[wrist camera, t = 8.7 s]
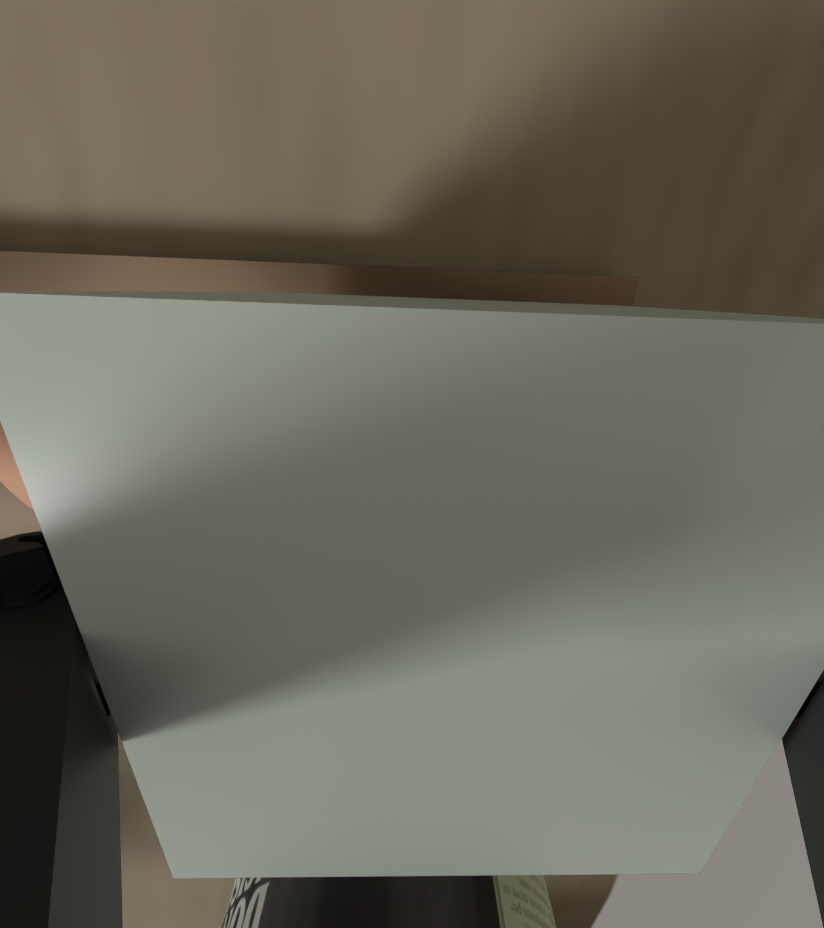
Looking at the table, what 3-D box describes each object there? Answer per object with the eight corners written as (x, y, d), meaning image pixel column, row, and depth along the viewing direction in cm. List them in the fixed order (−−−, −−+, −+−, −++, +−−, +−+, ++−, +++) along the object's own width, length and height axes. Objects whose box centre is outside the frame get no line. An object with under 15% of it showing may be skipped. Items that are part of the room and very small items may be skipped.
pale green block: (554, 587, 17) (700, 873, 9) (288, 583, 16) (173, 878, 8) (615, 305, 13) (1028, 330, 4) (258, 291, 12) (-48, 290, 4)
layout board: (556, 561, 20) (569, 583, 19) (5, 551, 19) (-30, 574, 18) (617, 278, 15) (641, 276, 14) (-125, 248, 14) (-189, 242, 13)
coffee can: (268, 661, 23) (89, 1153, 10) (374, 537, 20) (320, 1012, 7) (413, 732, 25) (423, 1193, 12) (526, 632, 22) (700, 1106, 9)
